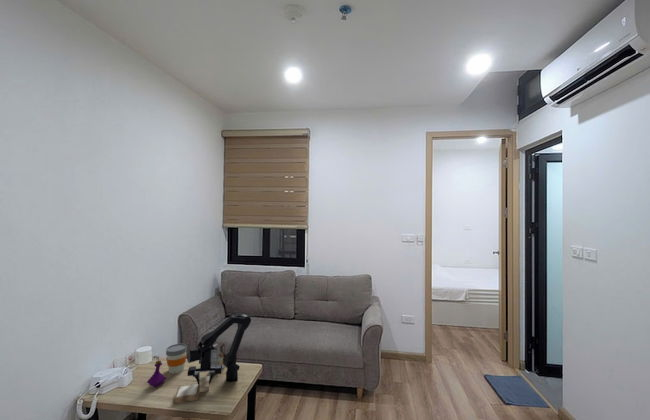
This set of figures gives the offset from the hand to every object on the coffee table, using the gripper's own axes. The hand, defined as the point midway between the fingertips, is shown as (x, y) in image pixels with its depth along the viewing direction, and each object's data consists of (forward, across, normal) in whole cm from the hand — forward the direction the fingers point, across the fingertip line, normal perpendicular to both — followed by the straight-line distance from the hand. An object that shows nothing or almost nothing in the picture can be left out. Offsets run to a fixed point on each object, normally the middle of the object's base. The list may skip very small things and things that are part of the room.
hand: (204, 384), depth 179 cm
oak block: (+3, 0, 0) cm, 3 cm away
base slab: (+3, +8, +4) cm, 10 cm away
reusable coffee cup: (+5, +20, -29) cm, 36 cm away
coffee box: (+3, -6, -22) cm, 23 cm away
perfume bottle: (+5, +28, -13) cm, 31 cm away
